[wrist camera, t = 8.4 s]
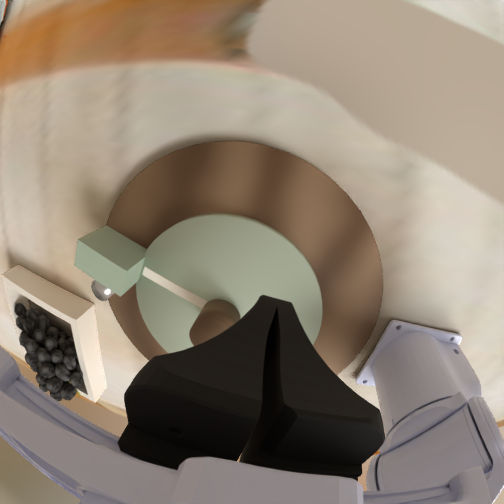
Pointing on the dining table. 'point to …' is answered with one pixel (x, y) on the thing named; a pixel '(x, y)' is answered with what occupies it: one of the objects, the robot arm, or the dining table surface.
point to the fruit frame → (70, 310)
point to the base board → (266, 211)
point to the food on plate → (3, 9)
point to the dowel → (101, 291)
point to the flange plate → (203, 272)
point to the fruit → (49, 354)
